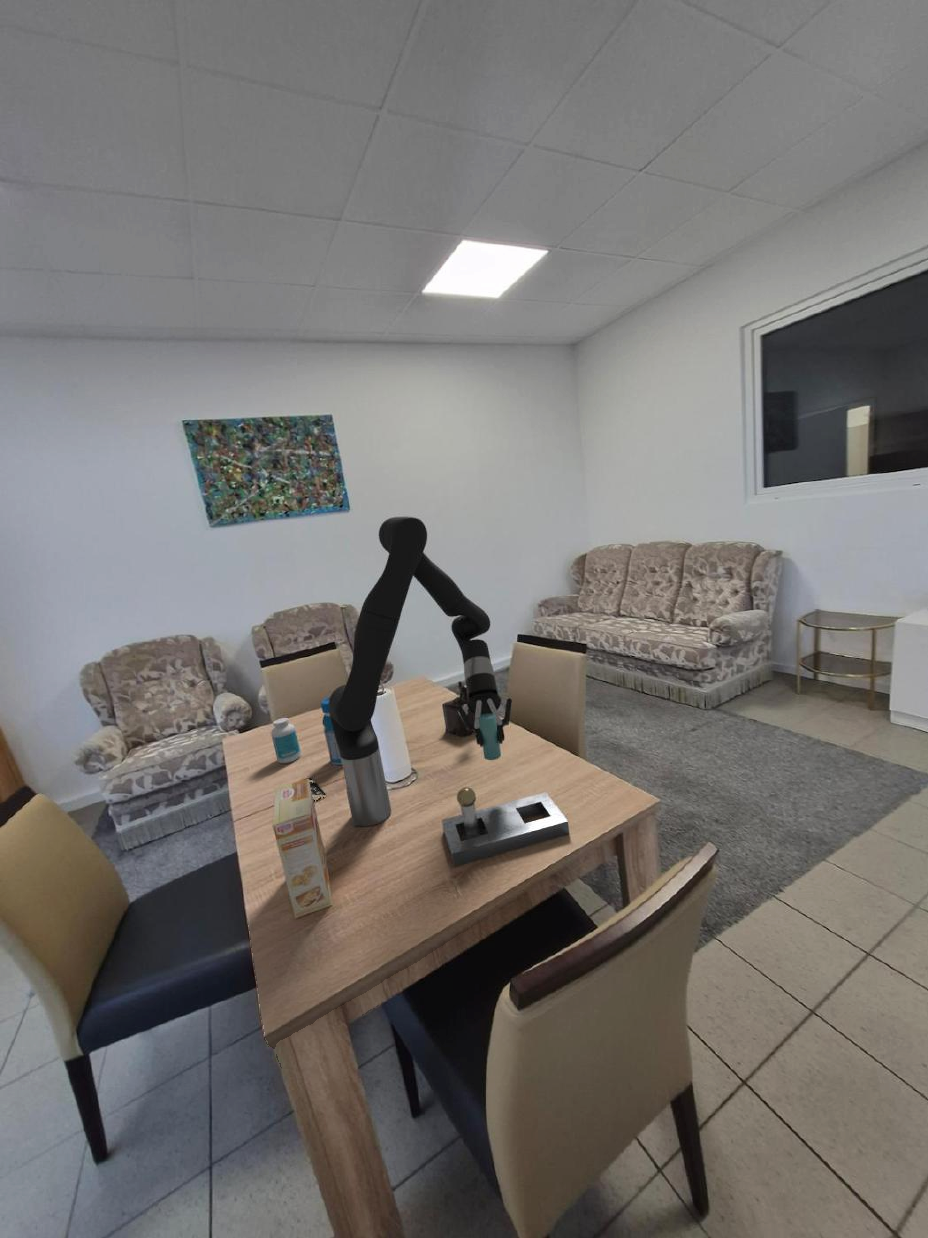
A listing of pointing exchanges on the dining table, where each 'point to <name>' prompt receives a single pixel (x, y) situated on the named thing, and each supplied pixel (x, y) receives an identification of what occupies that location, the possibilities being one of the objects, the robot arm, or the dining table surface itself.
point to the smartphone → (318, 789)
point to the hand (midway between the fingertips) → (491, 743)
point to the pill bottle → (285, 741)
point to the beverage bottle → (330, 734)
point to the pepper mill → (452, 716)
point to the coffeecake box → (301, 848)
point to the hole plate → (500, 826)
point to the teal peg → (489, 736)
